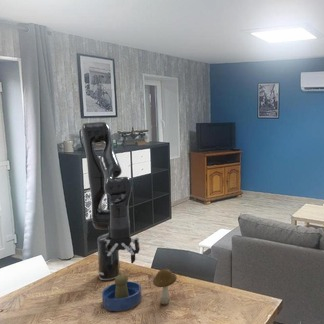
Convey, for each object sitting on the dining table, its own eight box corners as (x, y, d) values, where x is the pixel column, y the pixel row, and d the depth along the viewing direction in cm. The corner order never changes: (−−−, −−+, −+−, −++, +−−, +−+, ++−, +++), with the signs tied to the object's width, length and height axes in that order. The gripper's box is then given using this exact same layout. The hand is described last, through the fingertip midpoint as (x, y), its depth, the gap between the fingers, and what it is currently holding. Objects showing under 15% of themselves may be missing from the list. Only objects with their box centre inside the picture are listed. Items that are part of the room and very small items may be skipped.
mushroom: (180, 297, 146) (180, 264, 145) (170, 311, 135) (169, 276, 133) (160, 295, 148) (160, 262, 146) (149, 309, 137) (148, 274, 135)
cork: (124, 305, 138) (123, 280, 137) (111, 304, 139) (110, 278, 138) (132, 298, 144) (131, 273, 143) (119, 296, 145) (118, 272, 144)
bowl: (108, 294, 148) (108, 282, 148) (144, 292, 150) (143, 280, 150) (97, 313, 134) (97, 300, 133) (137, 311, 135) (137, 298, 135)
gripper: (139, 222, 142) (141, 258, 145) (104, 223, 140) (106, 260, 143) (136, 228, 135) (137, 266, 137) (98, 229, 133) (101, 268, 135)
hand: (121, 263), depth 140 cm, fingers open, 8 cm apart
